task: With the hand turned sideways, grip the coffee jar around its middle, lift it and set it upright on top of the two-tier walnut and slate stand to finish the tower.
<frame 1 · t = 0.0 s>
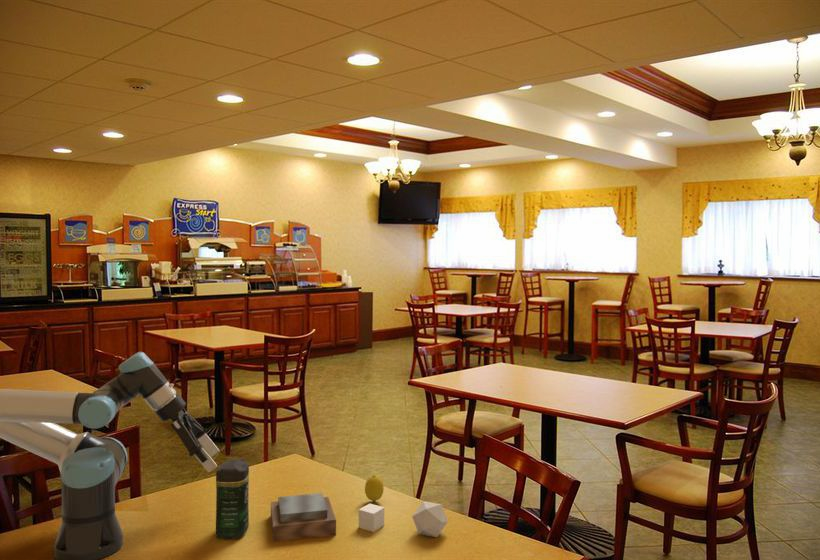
hand: (214, 461, 172), 15 cm above the table, tool tilted 35°, fingers open, 13 cm apart
lemon: (374, 502, 183), on the table
die: (429, 534, 163), on the table
coffee jar: (232, 533, 162), on the table
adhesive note: (371, 527, 167), on the table
tower stand: (302, 525, 167), on the table
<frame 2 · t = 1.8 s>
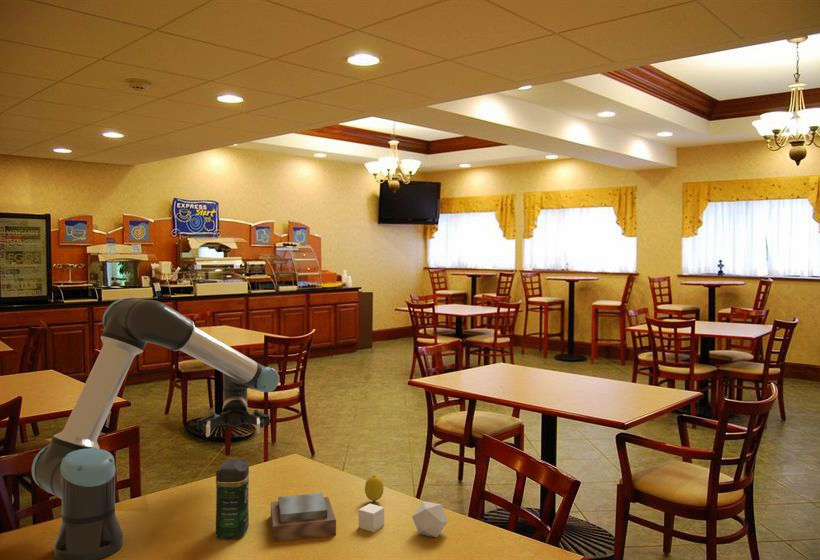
hand: (233, 430, 172), 24 cm above the table, tool horizontal, fingers open, 13 cm apart
nothing on the table moved.
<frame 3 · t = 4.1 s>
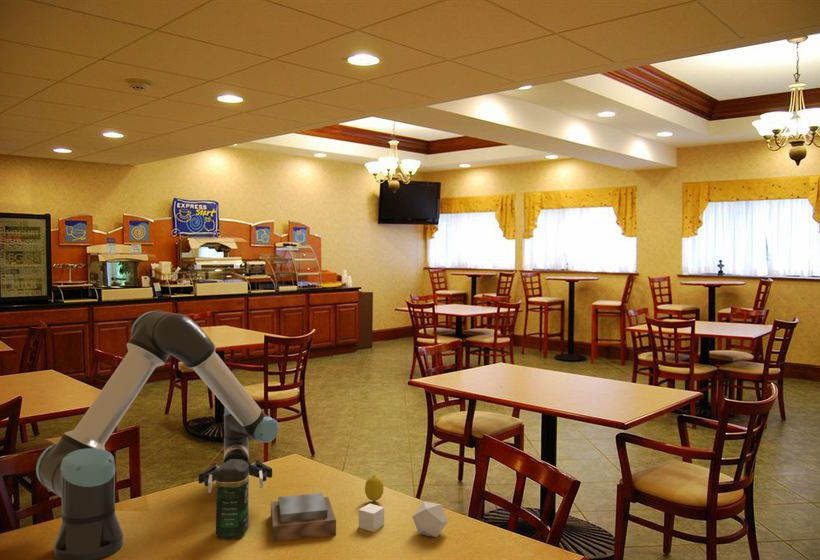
hand: (235, 485, 169), 10 cm above the table, tool horizontal, fingers open, 13 cm apart
nothing on the table moved.
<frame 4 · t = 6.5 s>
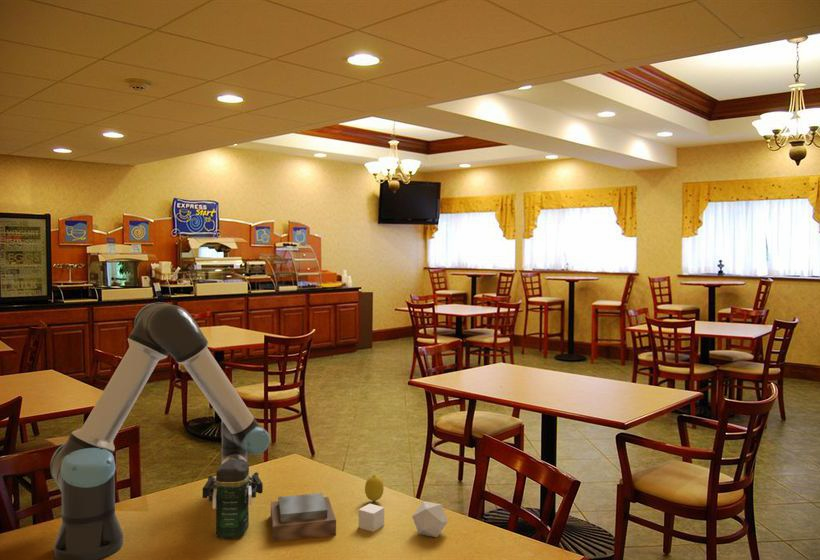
hand: (232, 501, 157), 10 cm above the table, tool horizontal, fingers closed on coffee jar, 8 cm apart
coffee jar: (232, 533, 162), on the table, touching gripper
everything else where it was.
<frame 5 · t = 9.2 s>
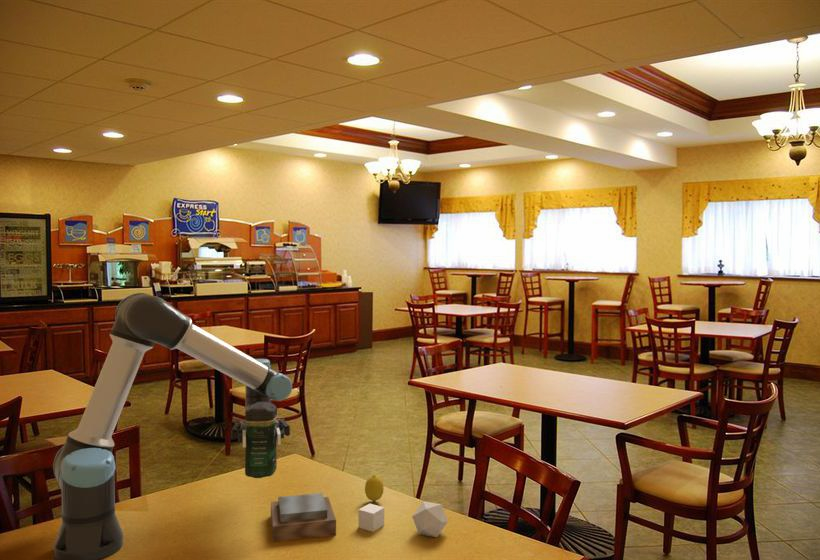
hand: (261, 440, 159), 25 cm above the table, tool horizontal, fingers closed on coffee jar, 8 cm apart
coffee jar: (261, 473, 164), point 15 cm above the table, touching gripper
everything else where it was.
when the fingers open (17 cm above the table, at t = 11.8 s): coffee jar drops 1 cm, resting on tower stand.
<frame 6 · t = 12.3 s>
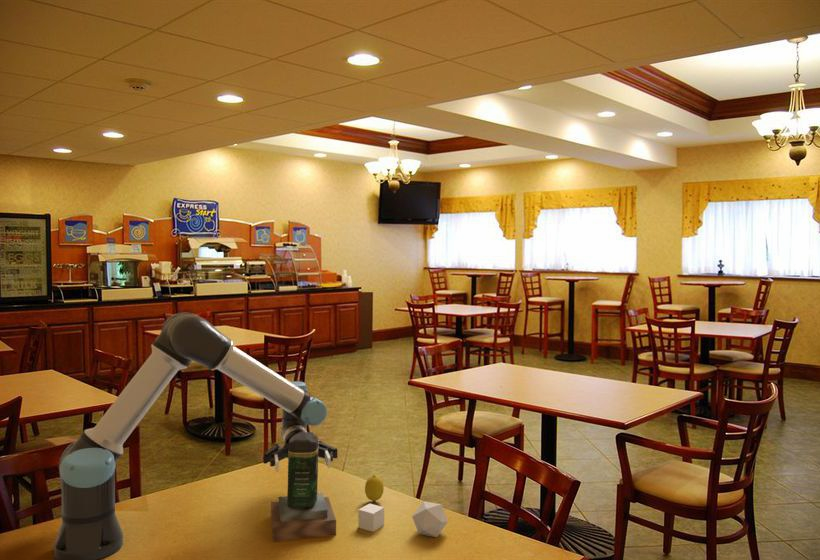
hand: (303, 465, 163), 17 cm above the table, tool horizontal, fingers open, 13 cm apart
coffee jar: (302, 503, 167), point 6 cm above the table, touching tower stand
everything else where it was.
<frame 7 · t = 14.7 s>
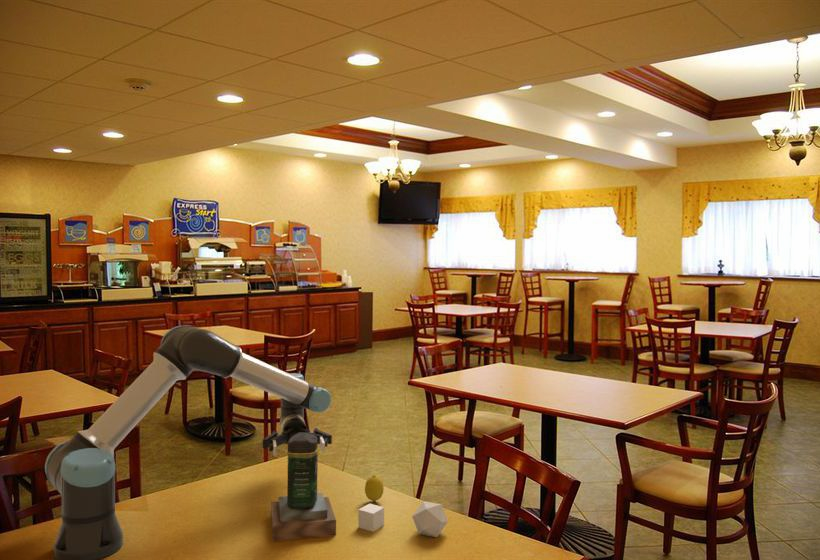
hand: (299, 449, 176), 18 cm above the table, tool horizontal, fingers open, 13 cm apart
nothing on the table moved.
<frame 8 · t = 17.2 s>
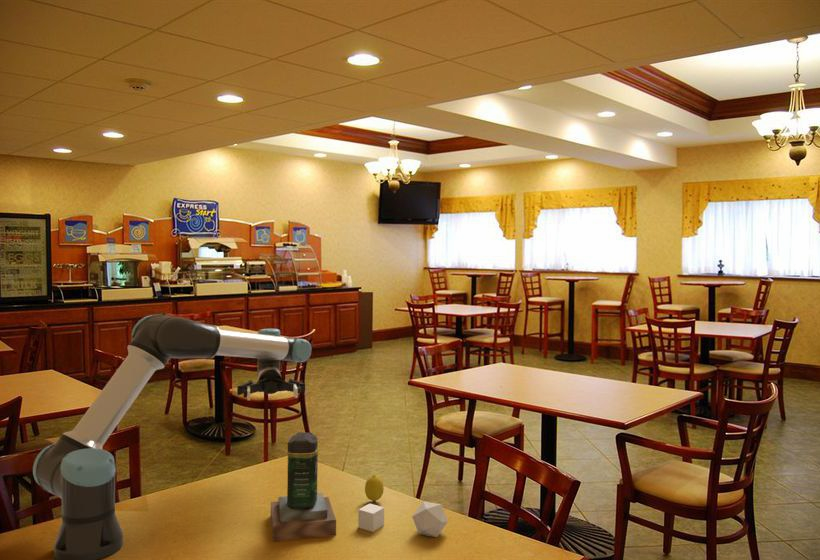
hand: (272, 394, 181), 32 cm above the table, tool horizontal, fingers open, 13 cm apart
nothing on the table moved.
at the end: coffee jar inside the target area on the tower stand (0.1 cm from its centre), point 5.8 cm above the tower stand's base; coffee jar tilted 0°; the gripper is holding nothing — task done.
